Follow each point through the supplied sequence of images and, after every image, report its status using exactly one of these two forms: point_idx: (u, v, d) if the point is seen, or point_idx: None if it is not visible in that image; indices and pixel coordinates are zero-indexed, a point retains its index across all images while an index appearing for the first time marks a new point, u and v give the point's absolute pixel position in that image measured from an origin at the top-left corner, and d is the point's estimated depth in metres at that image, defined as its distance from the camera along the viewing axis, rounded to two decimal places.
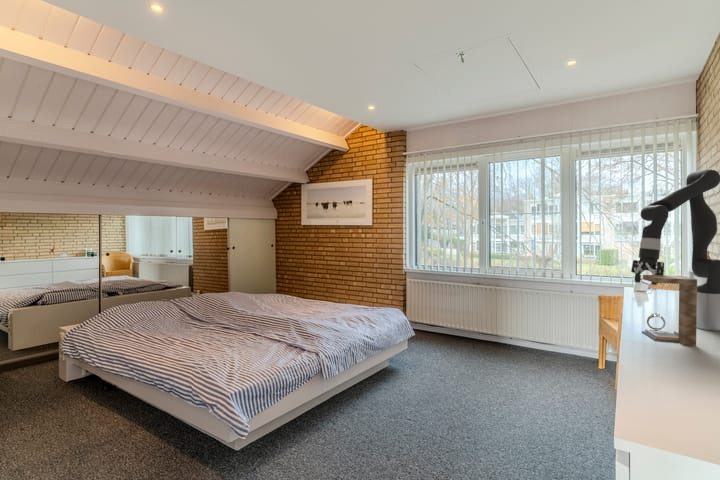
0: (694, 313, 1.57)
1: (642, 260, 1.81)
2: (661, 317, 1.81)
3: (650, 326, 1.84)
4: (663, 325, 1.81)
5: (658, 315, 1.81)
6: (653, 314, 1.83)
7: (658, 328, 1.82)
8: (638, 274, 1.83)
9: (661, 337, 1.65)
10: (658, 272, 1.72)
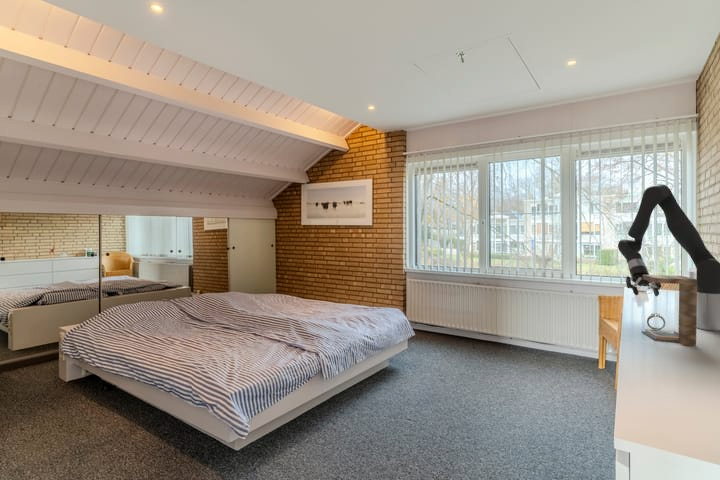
0: (694, 313, 1.57)
1: None
2: (661, 317, 1.81)
3: (650, 326, 1.84)
4: (663, 325, 1.81)
5: (658, 315, 1.81)
6: (653, 314, 1.83)
7: (658, 328, 1.82)
8: (654, 289, 1.95)
9: (661, 337, 1.65)
10: None
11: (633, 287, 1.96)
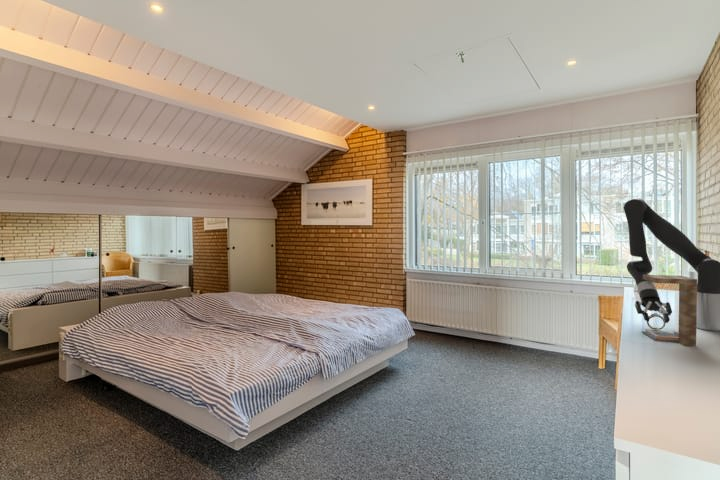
0: (694, 313, 1.57)
1: None
2: (661, 317, 1.81)
3: (650, 326, 1.84)
4: (663, 325, 1.81)
5: (658, 315, 1.81)
6: (653, 314, 1.83)
7: (658, 328, 1.82)
8: (663, 315, 1.83)
9: (661, 337, 1.65)
10: None
11: (644, 313, 1.85)
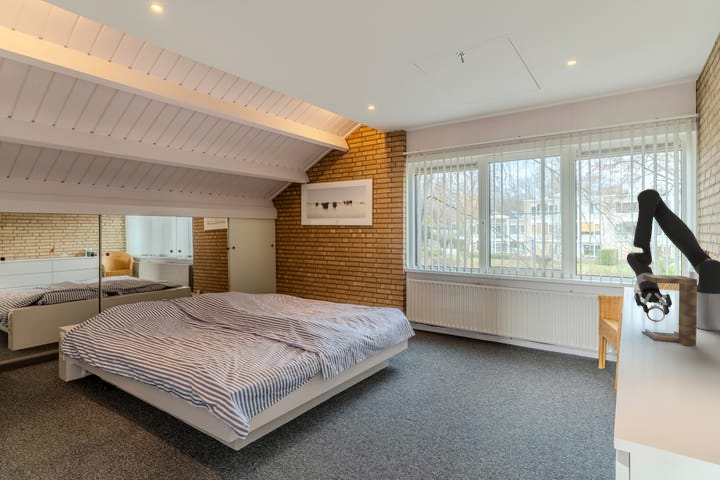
0: (694, 313, 1.57)
1: None
2: (661, 309, 1.79)
3: (650, 318, 1.82)
4: (663, 317, 1.79)
5: (658, 307, 1.79)
6: (653, 306, 1.81)
7: (658, 320, 1.80)
8: (663, 306, 1.81)
9: (661, 337, 1.65)
10: None
11: (643, 305, 1.83)
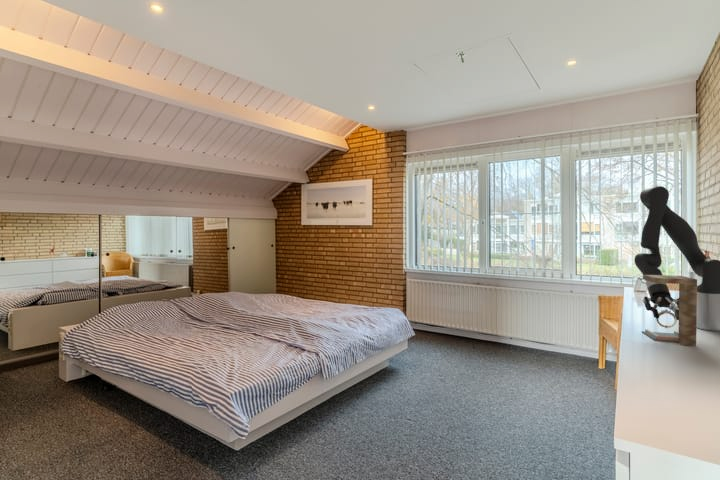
0: (694, 313, 1.57)
1: None
2: (672, 314, 1.68)
3: (660, 323, 1.71)
4: (674, 322, 1.68)
5: (669, 312, 1.68)
6: (663, 311, 1.70)
7: (669, 326, 1.69)
8: (675, 311, 1.70)
9: (661, 337, 1.65)
10: None
11: (653, 309, 1.72)
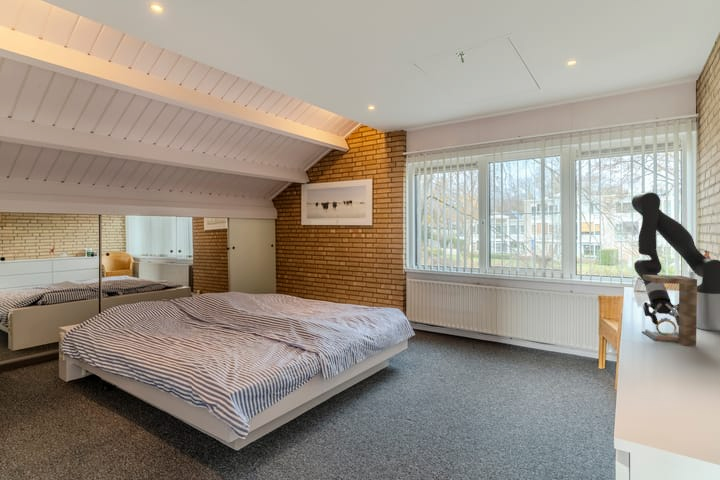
0: (694, 313, 1.57)
1: None
2: (672, 322, 1.68)
3: (660, 332, 1.71)
4: (674, 331, 1.68)
5: (668, 320, 1.69)
6: (663, 319, 1.70)
7: (668, 334, 1.70)
8: (676, 317, 1.70)
9: (661, 337, 1.65)
10: None
11: (652, 315, 1.72)
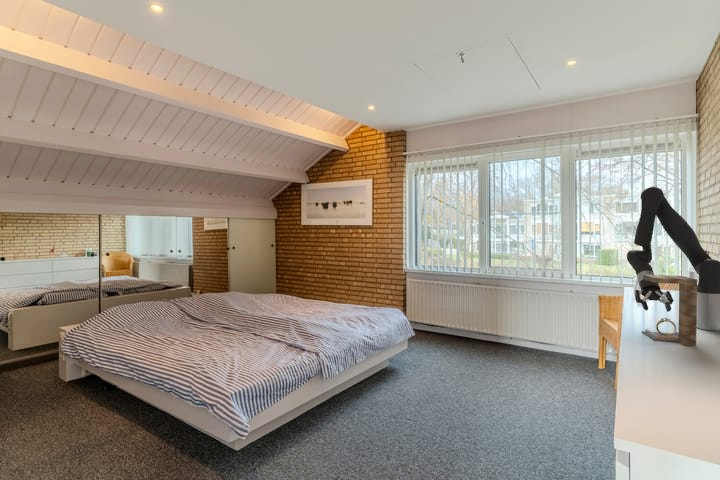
0: (694, 313, 1.57)
1: None
2: (672, 322, 1.68)
3: (660, 332, 1.71)
4: (674, 331, 1.68)
5: (668, 320, 1.69)
6: (663, 319, 1.70)
7: (668, 334, 1.70)
8: (665, 304, 1.80)
9: (661, 337, 1.65)
10: None
11: (642, 302, 1.83)
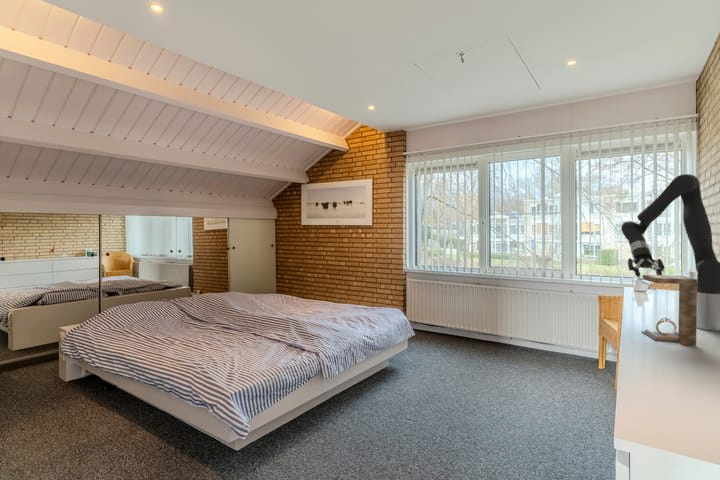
0: (694, 313, 1.57)
1: None
2: (672, 322, 1.68)
3: (660, 332, 1.71)
4: (674, 331, 1.68)
5: (668, 320, 1.69)
6: (663, 319, 1.70)
7: (668, 334, 1.70)
8: (656, 270, 1.90)
9: (661, 337, 1.65)
10: None
11: (635, 269, 1.92)
